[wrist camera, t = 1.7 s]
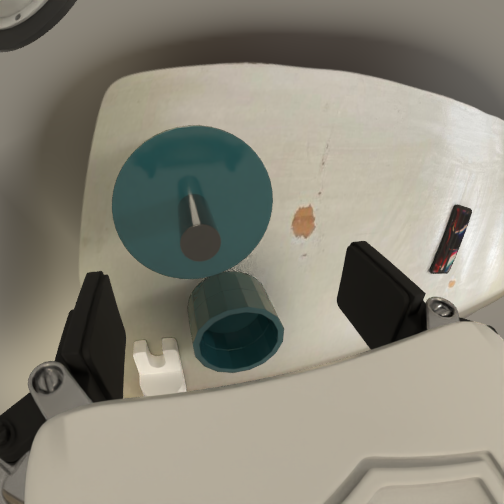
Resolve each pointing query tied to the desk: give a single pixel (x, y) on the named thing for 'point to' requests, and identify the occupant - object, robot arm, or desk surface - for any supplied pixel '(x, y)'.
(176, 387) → the slotted bracket
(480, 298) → the desk surface
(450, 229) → the smartphone
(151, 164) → the lid
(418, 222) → the desk surface
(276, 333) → the pot
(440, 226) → the desk surface
